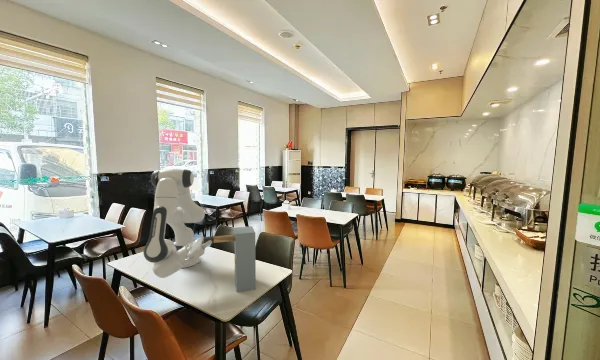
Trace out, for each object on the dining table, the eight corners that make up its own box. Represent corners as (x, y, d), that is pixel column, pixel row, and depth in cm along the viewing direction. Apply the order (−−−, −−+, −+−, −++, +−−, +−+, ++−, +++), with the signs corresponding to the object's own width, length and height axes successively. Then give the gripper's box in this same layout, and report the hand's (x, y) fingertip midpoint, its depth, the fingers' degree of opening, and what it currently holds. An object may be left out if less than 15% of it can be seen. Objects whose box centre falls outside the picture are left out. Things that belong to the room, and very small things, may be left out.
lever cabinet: (233, 280, 140) (233, 227, 138) (252, 278, 144) (251, 226, 141) (235, 292, 128) (234, 234, 126) (255, 289, 131) (255, 232, 129)
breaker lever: (203, 242, 129) (203, 237, 129) (235, 239, 134) (234, 234, 134) (203, 244, 126) (203, 238, 126) (235, 241, 131) (235, 236, 131)
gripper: (180, 257, 115) (207, 240, 118) (186, 243, 134) (209, 229, 137) (188, 267, 116) (214, 250, 119) (192, 252, 135) (215, 238, 139)
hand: (211, 239), depth 128 cm, fingers closed on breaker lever, 3 cm apart
